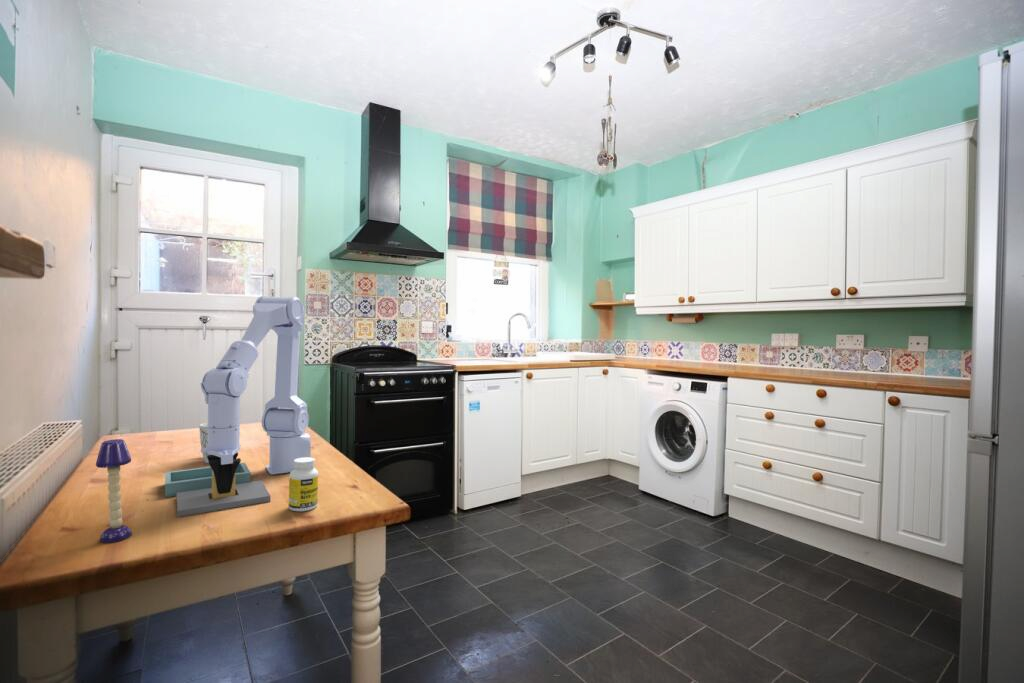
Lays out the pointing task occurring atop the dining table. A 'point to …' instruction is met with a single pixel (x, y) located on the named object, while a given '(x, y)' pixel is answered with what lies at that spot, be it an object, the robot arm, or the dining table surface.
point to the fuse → (215, 491)
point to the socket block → (221, 499)
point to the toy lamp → (114, 487)
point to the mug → (204, 439)
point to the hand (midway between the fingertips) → (223, 490)
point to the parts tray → (198, 479)
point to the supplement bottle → (303, 485)
